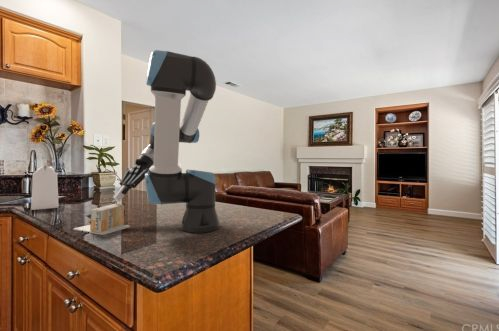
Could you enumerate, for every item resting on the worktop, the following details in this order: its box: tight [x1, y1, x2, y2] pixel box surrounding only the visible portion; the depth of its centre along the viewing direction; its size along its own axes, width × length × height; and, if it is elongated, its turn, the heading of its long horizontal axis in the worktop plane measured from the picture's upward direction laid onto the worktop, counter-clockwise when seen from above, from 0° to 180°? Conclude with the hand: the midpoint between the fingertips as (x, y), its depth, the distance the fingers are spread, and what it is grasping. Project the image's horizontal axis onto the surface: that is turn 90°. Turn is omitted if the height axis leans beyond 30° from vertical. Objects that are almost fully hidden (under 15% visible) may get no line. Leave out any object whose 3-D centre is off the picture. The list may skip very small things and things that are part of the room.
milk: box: [30, 159, 59, 211], centre depth 140 cm, size 12×12×26 cm
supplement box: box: [89, 203, 125, 232], centre depth 98 cm, size 8×5×13 cm
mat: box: [72, 224, 131, 236], centre depth 98 cm, size 16×12×1 cm
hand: (116, 199), depth 104 cm, fingers closed
